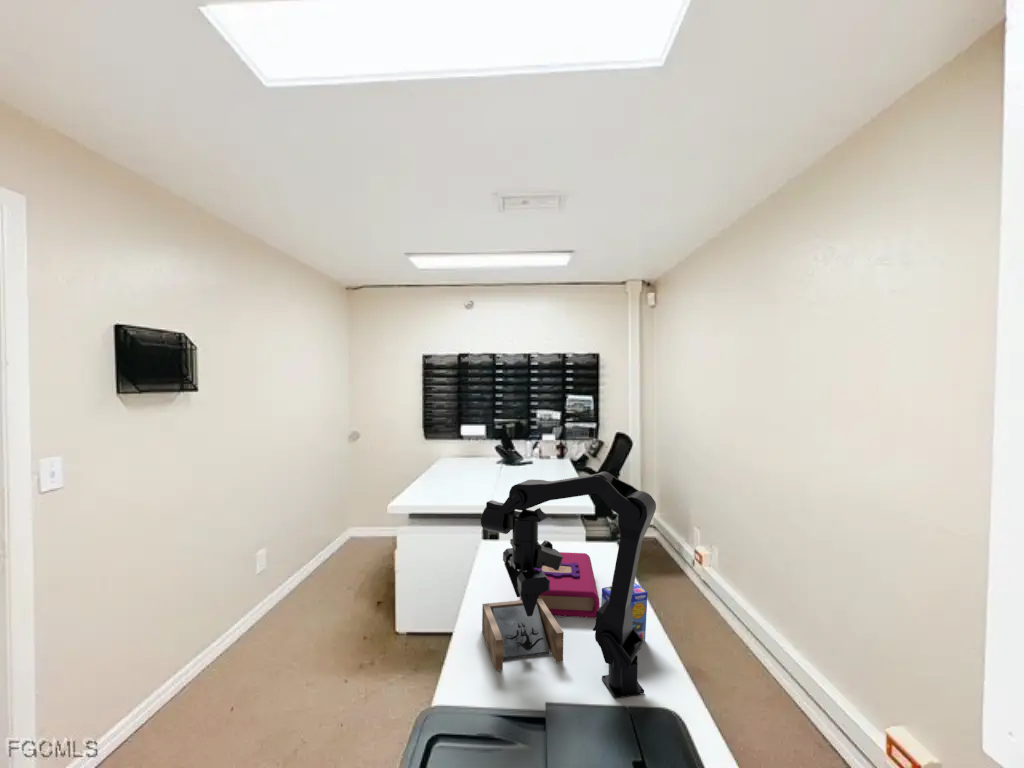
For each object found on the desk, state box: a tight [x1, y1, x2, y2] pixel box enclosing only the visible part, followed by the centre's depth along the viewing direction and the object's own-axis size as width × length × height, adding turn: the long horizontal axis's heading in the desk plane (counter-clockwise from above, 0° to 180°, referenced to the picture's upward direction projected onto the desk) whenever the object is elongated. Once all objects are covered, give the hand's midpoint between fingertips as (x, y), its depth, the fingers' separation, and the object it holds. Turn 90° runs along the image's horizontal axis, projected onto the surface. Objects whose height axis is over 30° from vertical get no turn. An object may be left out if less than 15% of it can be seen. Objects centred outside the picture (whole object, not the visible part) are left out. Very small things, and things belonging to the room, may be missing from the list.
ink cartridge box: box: [600, 582, 648, 643], centre depth 117 cm, size 10×6×14 cm, turn 111°
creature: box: [506, 622, 543, 650], centre depth 111 cm, size 8×5×8 cm
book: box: [519, 551, 600, 619], centre depth 141 cm, size 21×28×8 cm
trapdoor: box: [492, 604, 551, 660], centre depth 114 cm, size 12×11×1 cm
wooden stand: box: [481, 598, 564, 672], centre depth 114 cm, size 16×15×6 cm
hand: (524, 606), depth 111 cm, fingers open, 9 cm apart
